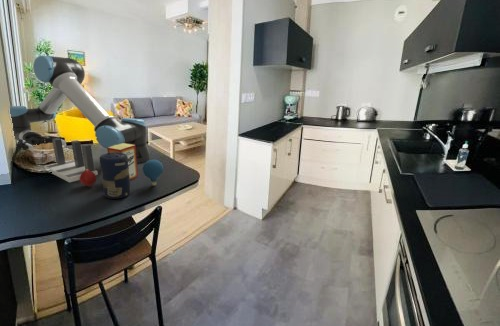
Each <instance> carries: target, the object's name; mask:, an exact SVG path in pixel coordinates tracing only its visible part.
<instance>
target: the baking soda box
mask: <svg viewBox="0 0 500 326" xmlns="http://www.w3.org/2000/svg"><path fill="white" fill-rule="evenodd" d="M106 150H107V153H110V152H120V153H124V154H126V155H127V157H128V167H129V176H130V181H132V180H134V179H136V178H138V177H139V172H138V163H137V157H136V145H133V144H127V143H122V144H118V145H114V146H111V147H108V148H106ZM137 176H138V177H137ZM135 177H136V178H135Z"/></svg>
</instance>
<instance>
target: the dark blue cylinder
mask: <svg viewBox="0 0 500 326" xmlns="http://www.w3.org/2000/svg"><path fill="white" fill-rule="evenodd" d="M99 165H100V172H101V173H100V174H101V179H102V180H101V181H102V188H103V194H104V197H106V198H107V199H112V200H115V199H116V200H117V199H122V198H125V197H127V196H129V195H130V193H131V180H130V176H129V167H128V157H127V155H126V154H124V153H120V152H110V153H108V152H106V153H103V154H102V155H100V156H99Z"/></svg>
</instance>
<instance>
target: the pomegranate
mask: <svg viewBox="0 0 500 326" xmlns="http://www.w3.org/2000/svg"><path fill="white" fill-rule="evenodd" d="M96 181H97V175H95V174H94V173H93V172H92V171H90V170H88V169H85V171H84V172H83V173H82V174H81V176H80V180H79V182H80V183H81V184H82V185H83V186H86V187H88V188H89V187H92V186H93V185H94V184H95V183H96Z"/></svg>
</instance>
